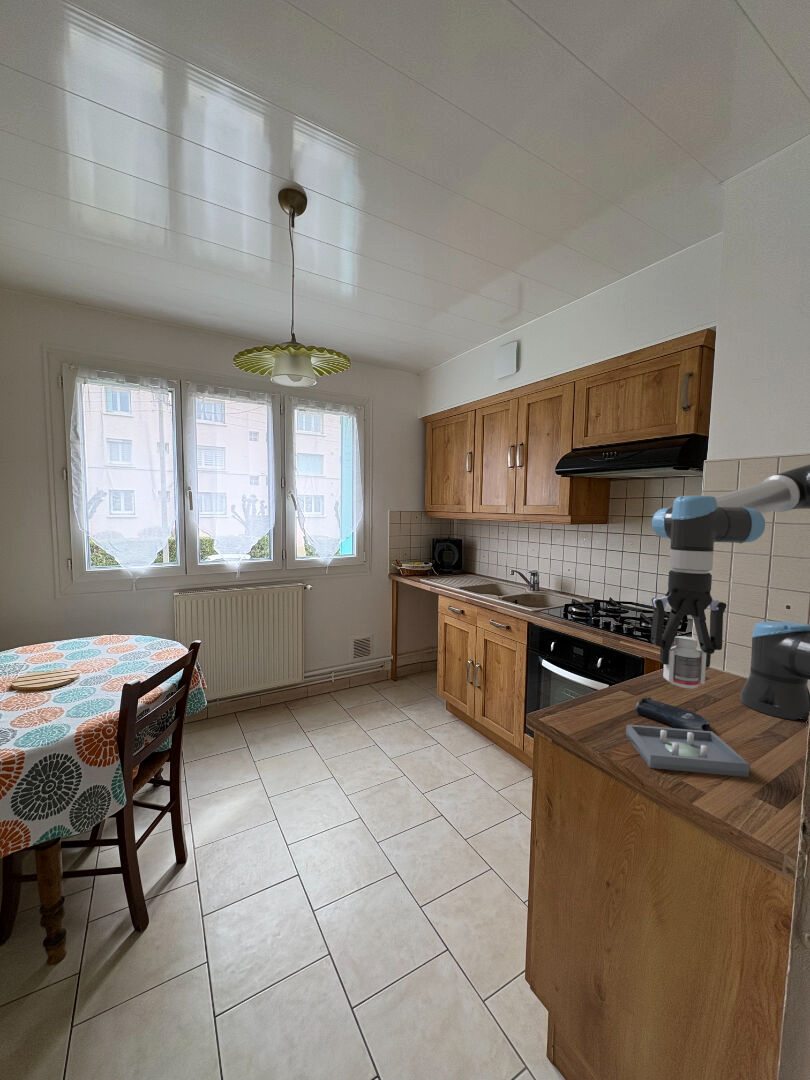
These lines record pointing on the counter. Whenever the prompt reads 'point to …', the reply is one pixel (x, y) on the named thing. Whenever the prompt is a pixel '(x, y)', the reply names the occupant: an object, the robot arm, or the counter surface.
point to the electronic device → (671, 715)
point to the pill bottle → (686, 662)
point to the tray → (686, 750)
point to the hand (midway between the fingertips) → (683, 680)
